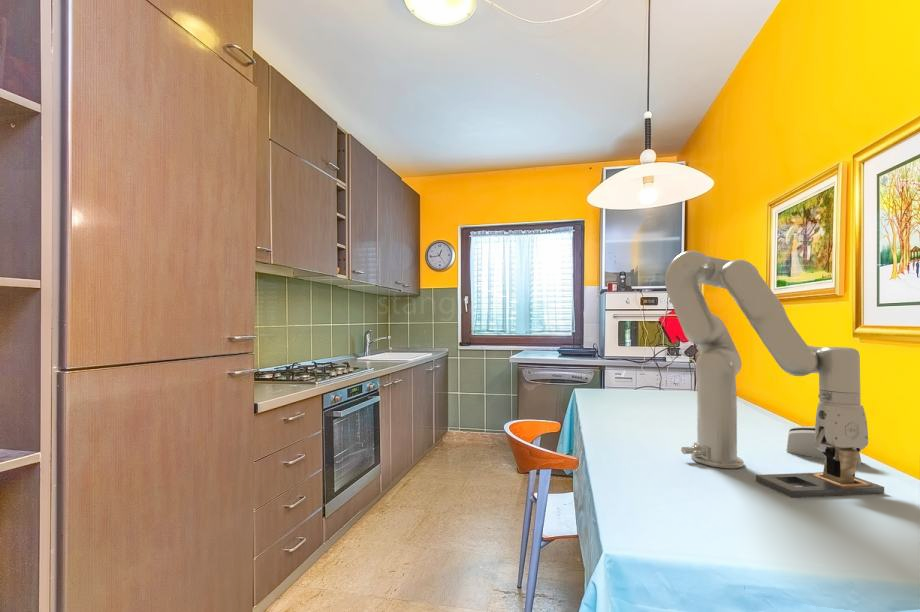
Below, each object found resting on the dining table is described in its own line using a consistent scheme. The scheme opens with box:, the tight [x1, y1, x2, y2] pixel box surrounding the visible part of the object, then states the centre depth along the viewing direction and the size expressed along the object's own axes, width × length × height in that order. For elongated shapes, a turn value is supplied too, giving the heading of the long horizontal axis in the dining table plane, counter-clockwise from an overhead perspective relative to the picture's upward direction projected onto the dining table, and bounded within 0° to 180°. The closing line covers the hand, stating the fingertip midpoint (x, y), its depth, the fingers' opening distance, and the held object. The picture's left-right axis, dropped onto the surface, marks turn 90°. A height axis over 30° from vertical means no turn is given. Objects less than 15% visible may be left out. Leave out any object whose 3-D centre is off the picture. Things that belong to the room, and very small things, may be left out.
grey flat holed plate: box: [755, 472, 885, 499], centre depth 103 cm, size 24×10×2 cm, turn 98°
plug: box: [823, 448, 860, 484], centre depth 104 cm, size 4×4×9 cm
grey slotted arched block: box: [786, 425, 862, 466], centre depth 126 cm, size 17×5×10 cm, turn 45°
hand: (840, 474), depth 104 cm, fingers closed on plug, 2 cm apart
